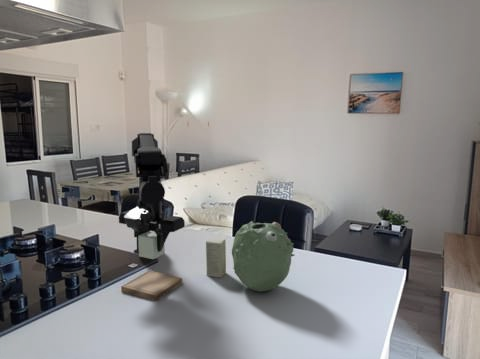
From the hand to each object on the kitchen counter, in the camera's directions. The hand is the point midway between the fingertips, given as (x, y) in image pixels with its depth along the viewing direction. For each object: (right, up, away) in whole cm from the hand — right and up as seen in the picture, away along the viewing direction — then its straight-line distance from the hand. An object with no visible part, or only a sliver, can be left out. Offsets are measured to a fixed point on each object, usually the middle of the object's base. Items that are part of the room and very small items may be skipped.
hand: (151, 249), depth 101 cm
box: (+17, -10, +11) cm, 23 cm away
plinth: (0, -11, +2) cm, 11 cm away
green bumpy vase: (+31, -12, +2) cm, 33 cm away
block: (0, -2, 0) cm, 2 cm away
